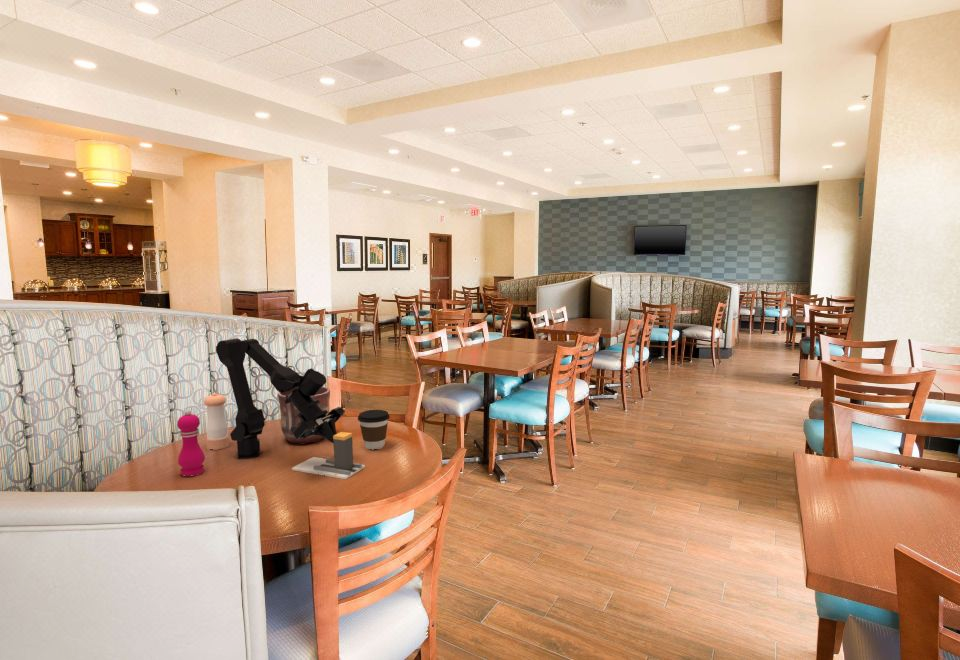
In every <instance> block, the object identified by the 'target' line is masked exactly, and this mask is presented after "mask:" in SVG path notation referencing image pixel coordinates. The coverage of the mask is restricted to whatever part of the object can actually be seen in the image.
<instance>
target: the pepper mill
mask: <svg viewBox="0 0 960 660" xmlns="http://www.w3.org/2000/svg"><path fill="white" fill-rule="evenodd" d="M200 420H201V419H200V418H199V416H198V415H196V414H193V413H192V410H191V409H185V411H184V415H182V416H180V417H179V418H178V420H177V424H176V425H177V428H178V429H179V430H180V431H179V436H180V437H181V439H182V446H181V449H180V451H179V454H178V457H177V463H178V465H179V466H180V467H181V468H180V475H181V474H182V475H185V476H191V475H196V476H198V475H197V474H199V475H201V474H204V472H205V466H204V464H203V463H204V461H205V460H206V457H205V453H204V451H203V449H202V447H201V446H200V444H199V441H198V435H199V434H200V432H199V426H200V423H201V421H200Z"/></svg>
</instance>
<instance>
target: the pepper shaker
mask: <svg viewBox="0 0 960 660" xmlns="http://www.w3.org/2000/svg"><path fill="white" fill-rule="evenodd" d="M226 402H227V397H226V396H225V395H223V394H218V393H217V392H213V393H212V394H210V395H208V396H206V397H205V398H204V400H203V404H204V406H206V413H207V414H206V415H207V417H206V418H207V419H206V420H207V421H206V427H205V428H206V436H207V437H206V439H205V440H206V441H205V442H206V449H207V448H208V449H207V450H210V449H213V451H215V450H217V451H218V450H222V449H225V448H228V447H230V445H231V444H230V434H229V432H228V430H229V428H228V422H227V417H226V414H225V413H226V411H225V404H226Z"/></svg>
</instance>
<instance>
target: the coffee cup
mask: <svg viewBox="0 0 960 660" xmlns="http://www.w3.org/2000/svg"><path fill="white" fill-rule="evenodd" d="M390 416H391V415H390V413H389V412H388V411H387V410H383V409H369V410H364V411H362V412H360V413H359V414H358V416H357V421H358V422H359V426H360V431H361V437H362V440H363V443H364V447H365V448H367V449H366V450H368V449H372V450H371V451H375V450H374V449H378V450H380V448H381V449H383V448H384V447H383V446H385V443H386V439H387V431H388V420H389V419H390ZM382 447H383V448H382Z"/></svg>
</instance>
